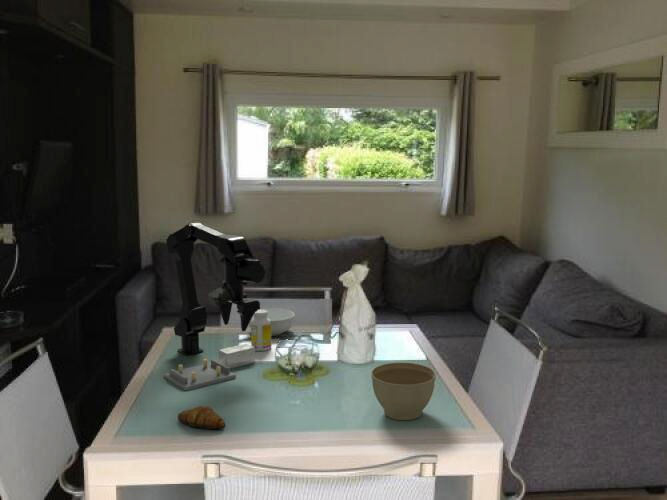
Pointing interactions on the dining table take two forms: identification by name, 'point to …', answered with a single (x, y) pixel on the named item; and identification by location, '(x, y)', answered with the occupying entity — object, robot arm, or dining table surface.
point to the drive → (237, 355)
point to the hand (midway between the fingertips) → (234, 327)
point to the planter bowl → (403, 388)
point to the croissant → (202, 418)
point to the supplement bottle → (261, 331)
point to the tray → (200, 375)
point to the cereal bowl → (279, 320)
